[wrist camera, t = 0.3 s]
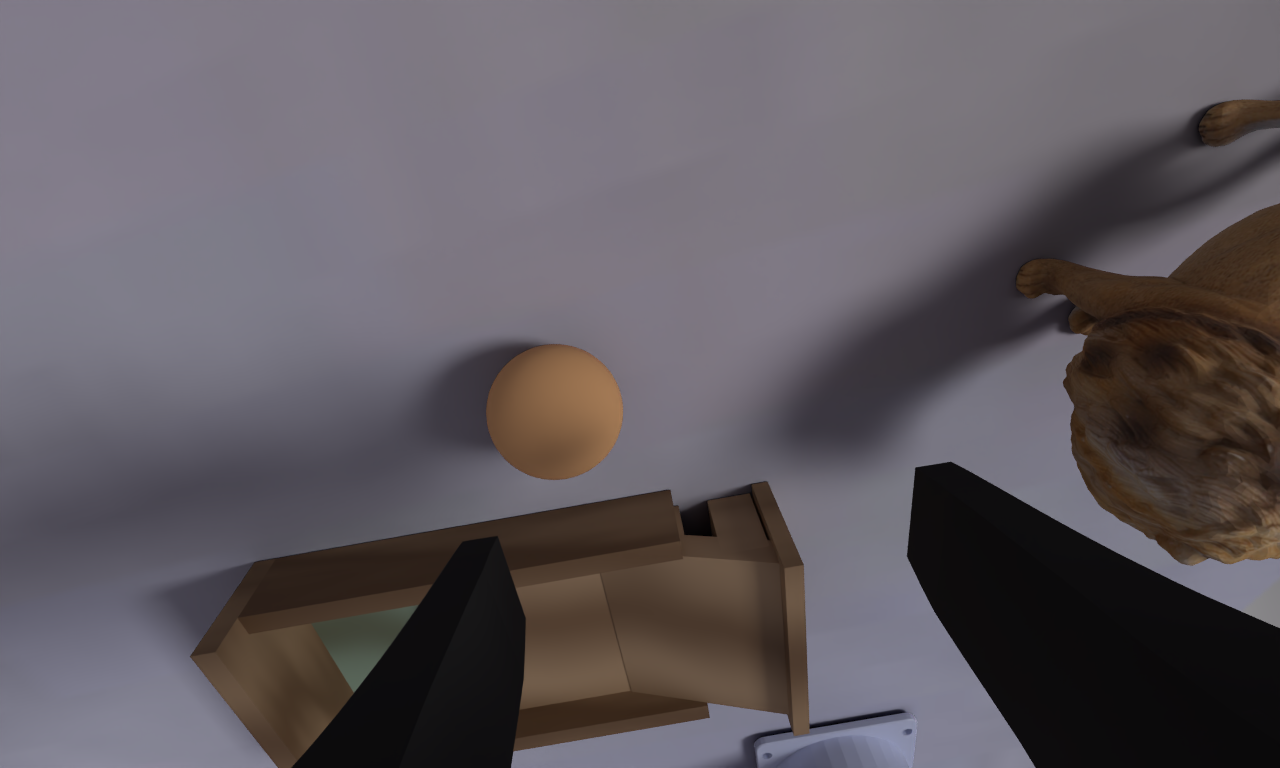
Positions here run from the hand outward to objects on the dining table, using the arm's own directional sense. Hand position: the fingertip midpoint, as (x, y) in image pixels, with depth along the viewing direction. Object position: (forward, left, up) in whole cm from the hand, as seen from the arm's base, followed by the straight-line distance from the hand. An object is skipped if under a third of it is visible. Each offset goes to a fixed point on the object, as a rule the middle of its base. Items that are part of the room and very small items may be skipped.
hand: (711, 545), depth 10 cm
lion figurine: (0, -16, -10) cm, 19 cm away
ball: (-1, +3, -8) cm, 8 cm away
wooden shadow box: (-11, +6, -10) cm, 16 cm away
